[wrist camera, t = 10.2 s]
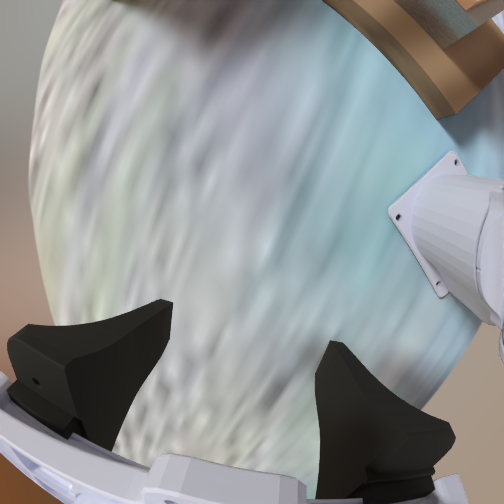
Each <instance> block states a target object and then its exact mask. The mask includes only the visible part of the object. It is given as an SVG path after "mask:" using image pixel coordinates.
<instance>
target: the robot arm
mask: <svg viewBox="0 0 504 504" xmlns="http://www.w3.org/2000/svg"><path fill="white" fill-rule="evenodd" d="M455 160H456V162H457V164H456V165H455V164H454V161H455ZM398 214H399V215H400V219H399V220H396V216H397V215H398ZM388 215H389V217H390V218H391V220H392V221H393V223H394V224H395V226H396V227H397V229H398V230H399V232H400V233H401V235H402V236H403V238H404V239H405V241H406V243H407V244H408V246H409V247H410V249H411V251H412V252H413V254H414V255H415V257H416V259H417V260H418V262H419V264H420V265H421V267H422V269H423V271H424V272H425V274H426V276H427V278H428V279H429V281H430V283H431V285H432V287H433V288H434V290H435V292H436V294H437V295H438V296H439V297H444V296H445V295H446V294H447V293H448V292H450V293H452V294H453V295H454V296H455V297H456V298H457V299H459V300H460V301H461V302H462V303H463V304H464V305H465V306H466V307H468V308H469V309H470V310H471V311H472V312H473V313H474V314H475V315H476V316H478V317H479V318H480V319H481V320H482V321H483V322H485V323H487V324H489V325H494V326H498V327H499V328H500V329H501V335H500V339H499V352H500V356H501V359H502V362H503V363H504V180H502V179H494V178H486V177H477V176H469V175H468V173H467V171H466V169H465V168H464V166H463V164H462V162H461V160H460V159H459V157H458V155H457V154H456V152H454V151H449V152H448V153H447V154H446V155H445V156H444V157H443V158H442V159H441V160H440V161H439V162H437V163H436V164H435V165H434V166H433V167H432V168H431V169H430V170H429V171H428V172H427V173H426V174H425V175H424V176H423V177H422V178H421V179H419V180H418V181H417V182H416V183H415V184H414V185H413V186H412V187H411V188H410V189H409V190H407V191H406V192H405V193H404V194H403V195H402V196H401V197H400V198H399V199H398V200H396V201H395V202H394V203H393V204H392V205H391V206H390V207H389V208H388ZM438 281H439V283H438V285H436V283H437V282H438ZM172 310H173V302H170V301H166V300H163V299H159V300H156V301H154V302H151V303H149V304H147V305H144V306H142V307H140V308H137V309H135V310H132V311H130V312H127V313H124V314H121V315H119V316H116V317H113V318H109V319H106V320H102V321H97V322H93V323H86V324H79V325H69V326H43V325H33V324H28V325H26V326H25V327H24V328H22V329H21V330H20V331H18V332H17V333H16V334H14V335H13V336H12V337H11V338H9V340H8V342H7V350H8V355H9V358H10V361H11V364H12V367H13V369H14V372H15V375H16V378H17V380H16V381H15V382H14V383H13V384H12V382H11V381H10V379H9V378H8V377H7V376H6V375H4V374H3V373H2V372H1V371H0V453H1V454H3V455H4V456H5V457H6V458H7V459H8V460H9V461H10V462H11V463H12V464H14V465H15V466H16V467H17V468H18V469H19V470H20V471H22V472H23V473H24V474H25V475H26V476H28V477H29V478H30V479H32V480H33V481H34V482H35V483H37V484H38V485H39V486H41V487H42V488H43V489H44V490H46V491H47V492H49V493H50V494H51V495H53V496H54V497H56V498H57V499H59V500H60V501H62V502H63V503H65V504H469V502H468V499H467V496H466V493H465V491H464V488H463V485H462V482H461V480H460V477H459V475H458V474H457V473H456V474H453V475H449V476H445V477H441V478H438V479H436V480H434V481H433V480H432V477H431V475H433V474H434V473H435V470H434V467H433V466H434V465H435V464H436V463H437V462H438V461H439V460H440V459H441V458H442V457H443V456H444V455H445V454H446V453H447V452H448V451H449V450H450V449H451V448H452V446H453V444H454V442H455V438H456V437H455V435H454V432H453V430H452V428H451V426H450V424H449V422H446V421H443V420H441V419H438V418H436V417H433V416H431V415H429V414H427V413H424V412H423V411H421V410H419V409H417V408H415V407H413V406H411V405H410V404H408V403H407V402H405V401H404V400H402V399H401V398H399V397H398V396H396V395H395V394H394V393H392V392H391V391H390V390H389V389H388V388H386V387H385V386H384V385H383V384H382V383H381V382H379V381H378V380H377V379H376V378H375V377H374V376H373V375H372V374H371V373H370V372H369V371H368V370H367V369H366V367H365V366H364V365H363V364H362V363H361V362H360V361H359V360H358V359H357V357H356V356H355V355H354V354H353V353H352V352H351V351H350V350H349V349H348V347H347V346H346V345H345V344H344V343H342V342H337V341H331V340H330V342H329V344H328V347H327V349H326V351H325V353H324V356H323V358H322V360H321V362H320V365H319V367H318V369H317V371H316V373H315V397H316V405H317V412H318V420H319V428H320V461H319V474H318V483H317V491H316V497H315V499H306V485H305V484H303V483H302V482H301V481H299V480H298V479H296V478H295V477H290V476H286V475H281V474H275V473H267V472H260V471H254V470H248V469H243V468H237V467H232V466H227V465H223V464H218V463H214V462H210V461H206V460H202V459H198V458H195V457H191V456H185V455H179V454H165V455H158V456H157V457H156V458H155V460H154V461H153V463H152V465H151V468H149V467H146V466H143V465H141V464H138V463H136V462H133V461H131V460H128V459H126V458H124V457H121V456H119V455H117V454H115V453H113V452H112V449H113V446H114V444H115V441H116V438H117V436H118V434H119V431H120V429H121V426H122V424H123V422H124V419H125V417H126V415H127V413H128V410H129V408H130V406H131V404H132V402H133V400H134V398H135V396H136V394H137V392H138V391H139V389H140V387H141V386H142V384H143V383H144V381H145V380H146V378H147V377H148V375H149V374H150V372H151V371H152V369H153V368H154V367H155V365H156V363H157V362H158V360H159V359H160V357H161V356H162V354H163V352H164V350H165V348H166V346H167V344H168V341H169V339H170V330H171V319H172Z"/></svg>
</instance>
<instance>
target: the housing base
mask: <svg viewBox="0 0 504 504" xmlns="http://www.w3.org/2000/svg"><path fill="white" fill-rule="evenodd" d="M393 1H395V2H396V3H397V4H398V5H399V6H400V7H401V8H402V9H403V10H404V11H405V12H406V13H408V14H409V15H410V16H411V17H412V18H413V19H414V20H415V21H416V22H417V23H418V24H419V25H420V26H421V28H422V29H423V30H424V31H425V32H426V33H427V34H428V35H429V36H430V37H431V38H432V39H433V41H434V42H435V43H436V44H437V45H438V46H439V47H440V49H441V50H444V49H445V48H447V47H448V46H450V45H451V44H453V43H454V42H456V41H457V40H459V39H460V38H462V37H463V36H465V35H466V34H468V33H469V32H471V31H473V30H474V29H476V28H477V27H479V26H480V25H482V24H483V23H485V22H486V21H488V20H489V19H491V18H492V17H494V16H495V15H497V14H498V13H500V12H501V11H503V10H504V0H486V1H484V2H482V3H480V4H478V5H476V6H474V7H472V8H470V9H468V10H465V9H464V8H463V7H462V6H461V5H460V3H459V2H458V1H457V0H393Z"/></svg>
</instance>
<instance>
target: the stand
mask: <svg viewBox="0 0 504 504" xmlns="http://www.w3.org/2000/svg"><path fill="white" fill-rule="evenodd" d="M322 1H324V2H325V3H326V4H328V5H329V6H330V7H332V8H333V9H334V10H335V11H337V12H338V13H339V14H340V15H341V16H343V17H344V18H345V19H346V20H347V21H349V22H350V23H351V24H352V25H353V26H354V27H355V28H356V29H358V30H359V31H360V32H361V33H362V34H363V35H364V36H365V37H366V38H367V39H368V40H369V41H370V42H371V43H372V44H373V45H374V46H375V47H376V48H377V49H378V50H379V51H380V52H381V53H382V54H383V55H384V56H385V57H386V58H387V59H388V60H389V61H390V62H391V63H392V64H393V65H394V67H395V68H396V69H397V70H398V71H399V72H400V73H401V74H402V76H403V77H404V78H405V79H406V80H407V82H408V83H409V84H410V85H411V86H412V88H413V89H414V90H415V91H416V93H417V94H418V95H419V96H420V98H421V99H422V100H423V102H424V103H425V104H426V106H427V107H428V108H429V110H430V111H431V113H432V114H433V115H434V117H435V118H436V119H440V118H443V117H447V116H451V115H454V114H457V113H458V112H459V111H460V110H461V109H462V108H463V107H464V106H465V105H466V104H467V103H468V102H469V101H470V100H471V99H472V98H473V97H475V96H476V95H477V94H478V93H479V92H480V91H481V90H482V89H483V88H484V87H485V86H486V85H487V84H488V83H489V82H490V81H491V80H492V79H493V78H494V77H495V76H496V75H497V74H498V73H499V72H500V71H501V70H502V69H503V68H504V34H503V33H502V32H501V30H500V29H499V28H498V26H497V25H496V24H495V23H494V21H493V20H492V19H489V20H488V21H486V22H485V23H483V24H482V25H480V26H479V27H477V28H476V29H474V30H473V31H471V32H469V33H468V34H466V35H465V36H463V37H462V38H460V39H459V40H457V41H456V42H454V43H453V44H451V45H450V46H448V47H447V48H445V49H444V50H441V49H440V47H439V46H438V45H437V44H436V43H435V42H434V41H433V39H432V38H431V37H430V36H429V35H428V34H427V33H426V32H425V31H424V30H423V29H422V28H421V26H420V25H419V24H418V23H417V22H416V21H415V20H414V19H413V18H412V17H411V16H410V15H409V14H408V13H406V12H405V11H404V10H403V9H402V8H401V7H400V6H399V5H398V4H397V3H396V2H395V1H393V0H322Z"/></svg>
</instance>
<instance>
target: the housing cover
mask: <svg viewBox="0 0 504 504" xmlns="http://www.w3.org/2000/svg"><path fill="white" fill-rule="evenodd" d="M457 1H458V2H459V3H460V5H461V6H462V7H463V8H464V9H465V10H468V9H470V8H472V7H474V6H476V5H478V4H480V3H482V2H484V1H486V0H457Z"/></svg>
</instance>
